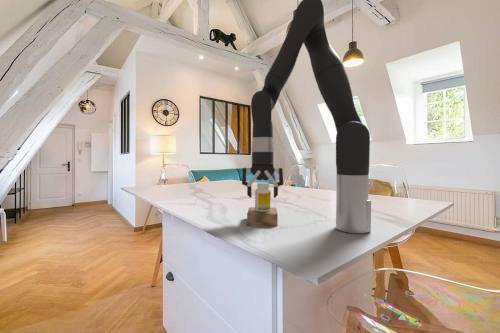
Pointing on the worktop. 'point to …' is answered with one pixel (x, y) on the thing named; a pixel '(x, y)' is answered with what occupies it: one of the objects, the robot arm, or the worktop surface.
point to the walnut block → (262, 217)
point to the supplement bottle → (262, 197)
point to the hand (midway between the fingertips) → (262, 197)
